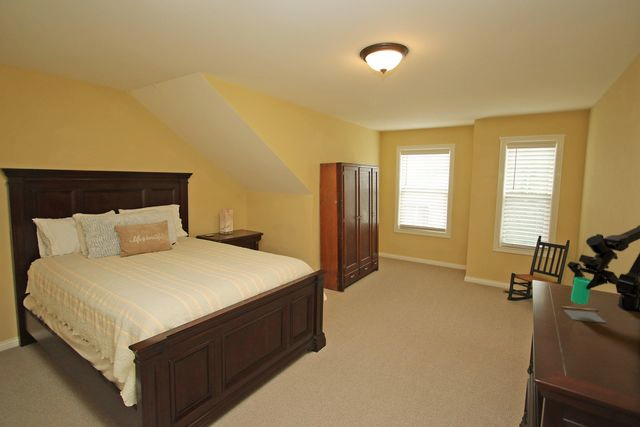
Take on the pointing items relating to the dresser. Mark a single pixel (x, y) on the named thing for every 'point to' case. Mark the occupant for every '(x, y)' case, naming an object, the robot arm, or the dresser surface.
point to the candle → (580, 290)
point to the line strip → (579, 308)
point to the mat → (584, 316)
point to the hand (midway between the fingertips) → (580, 286)
